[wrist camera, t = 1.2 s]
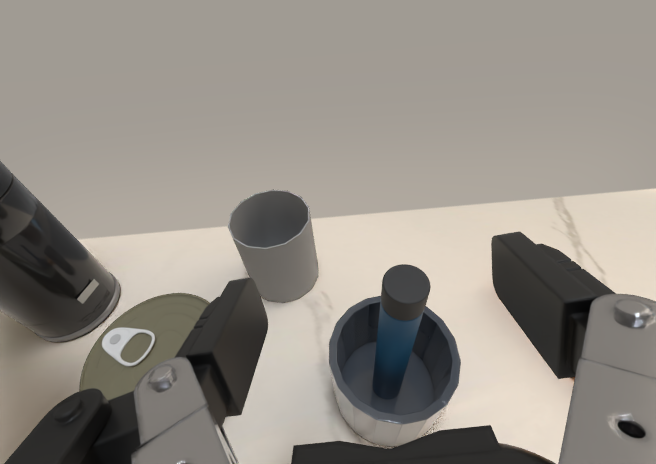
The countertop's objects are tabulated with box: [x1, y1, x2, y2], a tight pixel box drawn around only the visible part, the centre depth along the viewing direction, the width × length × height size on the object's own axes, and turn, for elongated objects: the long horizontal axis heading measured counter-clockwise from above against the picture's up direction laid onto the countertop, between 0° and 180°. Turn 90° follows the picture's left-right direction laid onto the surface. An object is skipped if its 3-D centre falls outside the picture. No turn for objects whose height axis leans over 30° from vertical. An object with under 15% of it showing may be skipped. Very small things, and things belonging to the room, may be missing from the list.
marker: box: [373, 265, 430, 399], centre depth 25 cm, size 3×3×18 cm
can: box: [80, 293, 210, 401], centre depth 31 cm, size 12×12×7 cm
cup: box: [228, 190, 318, 303], centre depth 38 cm, size 8×8×10 cm
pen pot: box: [329, 296, 461, 447], centre depth 29 cm, size 10×10×8 cm
